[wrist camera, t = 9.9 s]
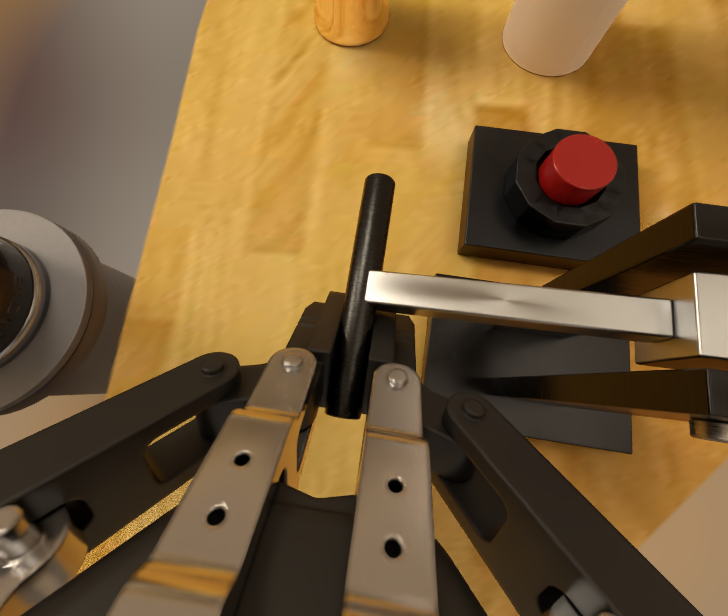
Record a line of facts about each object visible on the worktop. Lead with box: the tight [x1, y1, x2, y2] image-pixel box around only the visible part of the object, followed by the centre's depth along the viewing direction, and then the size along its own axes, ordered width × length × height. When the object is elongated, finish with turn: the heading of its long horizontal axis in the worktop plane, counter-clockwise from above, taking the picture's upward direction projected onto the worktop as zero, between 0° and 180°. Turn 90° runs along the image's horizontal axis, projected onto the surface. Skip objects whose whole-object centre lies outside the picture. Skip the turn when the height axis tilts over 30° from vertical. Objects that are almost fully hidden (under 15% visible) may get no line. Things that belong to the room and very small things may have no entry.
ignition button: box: [538, 134, 617, 205], centre depth 19 cm, size 4×4×2 cm
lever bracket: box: [421, 203, 728, 454], centre depth 14 cm, size 12×9×14 cm
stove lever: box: [325, 173, 728, 420], centre depth 10 cm, size 12×8×2 cm
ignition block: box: [458, 125, 640, 270], centre depth 21 cm, size 11×9×4 cm
